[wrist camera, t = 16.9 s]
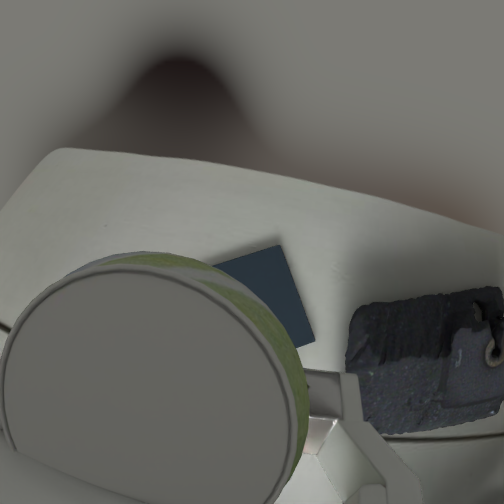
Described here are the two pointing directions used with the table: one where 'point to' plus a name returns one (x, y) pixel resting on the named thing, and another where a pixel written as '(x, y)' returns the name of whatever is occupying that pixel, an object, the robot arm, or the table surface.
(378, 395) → the dark slate chunk
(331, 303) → the table surface
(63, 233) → the table surface
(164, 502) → the beverage can
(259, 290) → the rubber pad
